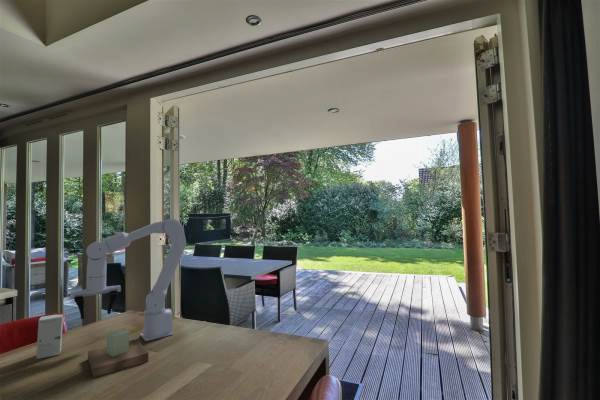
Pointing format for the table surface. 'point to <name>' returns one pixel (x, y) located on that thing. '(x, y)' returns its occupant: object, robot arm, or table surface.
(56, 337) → the skincare box
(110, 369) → the walnut base
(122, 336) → the sage block
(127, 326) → the table surface
